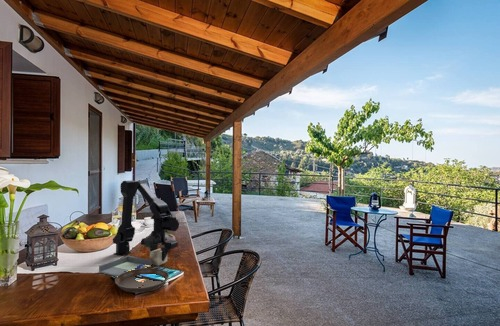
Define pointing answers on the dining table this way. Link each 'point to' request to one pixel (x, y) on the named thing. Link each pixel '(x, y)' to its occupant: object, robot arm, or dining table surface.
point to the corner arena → (122, 265)
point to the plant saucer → (130, 284)
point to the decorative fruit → (169, 237)
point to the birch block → (157, 257)
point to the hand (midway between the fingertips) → (158, 260)
